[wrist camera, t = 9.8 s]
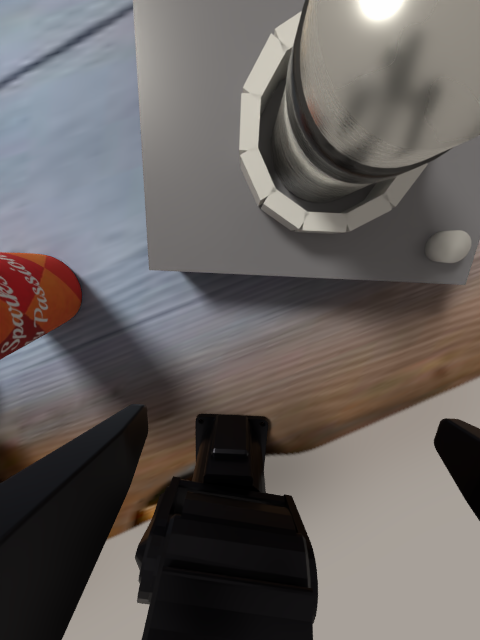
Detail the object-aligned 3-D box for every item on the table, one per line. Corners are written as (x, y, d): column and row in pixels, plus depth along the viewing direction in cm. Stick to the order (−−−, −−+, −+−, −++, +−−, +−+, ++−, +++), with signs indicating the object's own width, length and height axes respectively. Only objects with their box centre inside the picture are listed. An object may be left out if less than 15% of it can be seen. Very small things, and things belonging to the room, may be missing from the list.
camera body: (409, 274, 19) (499, 291, 12) (172, 262, 19) (134, 274, 12) (462, 58, 15) (632, -85, 9) (165, 43, 15) (104, -112, 9)
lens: (368, 207, 13) (540, 159, 6) (265, 202, 13) (297, 149, 6) (390, 79, 12) (676, -233, 4) (273, 74, 12) (333, -250, 4)
